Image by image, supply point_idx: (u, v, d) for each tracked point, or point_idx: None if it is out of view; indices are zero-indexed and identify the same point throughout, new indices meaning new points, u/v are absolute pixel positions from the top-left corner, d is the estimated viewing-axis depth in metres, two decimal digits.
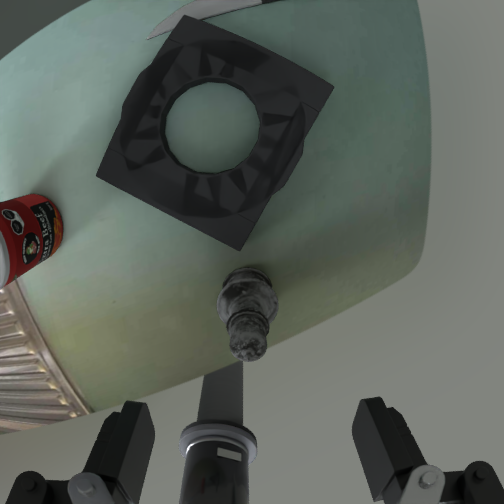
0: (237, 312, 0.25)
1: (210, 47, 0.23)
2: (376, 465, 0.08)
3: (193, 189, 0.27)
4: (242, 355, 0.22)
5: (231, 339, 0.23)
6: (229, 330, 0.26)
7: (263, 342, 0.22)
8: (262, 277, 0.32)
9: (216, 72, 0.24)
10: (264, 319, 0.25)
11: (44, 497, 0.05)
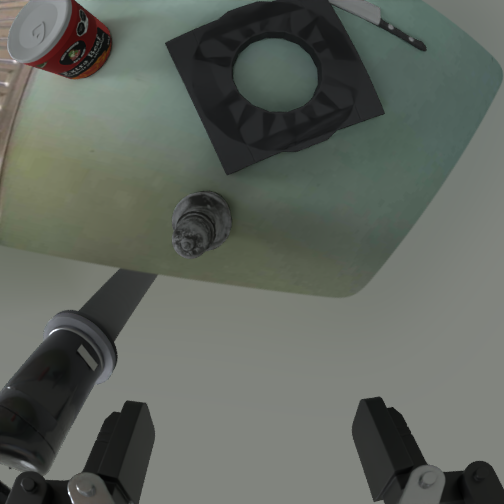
0: (196, 212, 0.26)
1: (321, 23, 0.25)
2: (376, 464, 0.08)
3: (229, 104, 0.28)
4: (180, 243, 0.23)
5: (180, 224, 0.23)
6: (178, 223, 0.26)
7: (204, 244, 0.23)
8: None
9: (311, 41, 0.26)
10: (213, 233, 0.26)
11: (44, 497, 0.05)
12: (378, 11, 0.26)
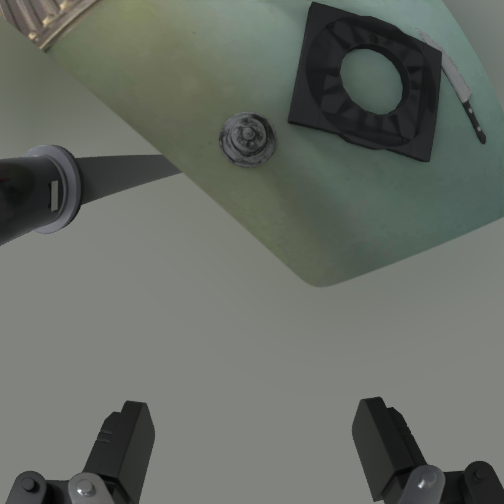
0: (261, 123, 0.26)
1: (426, 71, 0.29)
2: (376, 465, 0.08)
3: (327, 74, 0.29)
4: (243, 129, 0.23)
5: (250, 118, 0.23)
6: None
7: (259, 144, 0.24)
8: None
9: (412, 77, 0.29)
10: (262, 148, 0.27)
11: (44, 497, 0.05)
12: (469, 94, 0.31)
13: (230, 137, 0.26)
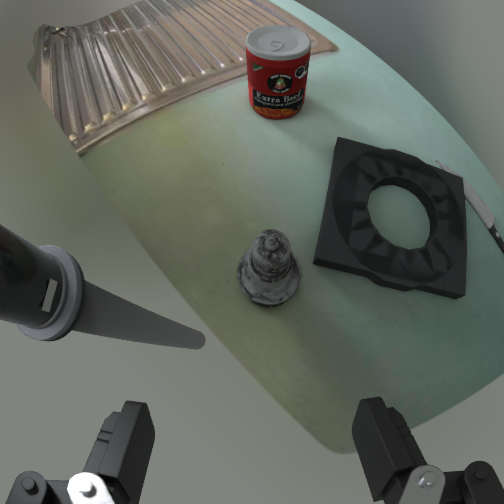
0: None
1: (451, 200, 0.32)
2: (376, 464, 0.08)
3: (355, 209, 0.32)
4: (266, 239, 0.21)
5: None
6: None
7: (283, 259, 0.21)
8: None
9: (438, 207, 0.32)
10: (285, 273, 0.24)
11: (44, 497, 0.05)
12: (493, 219, 0.33)
13: (250, 259, 0.25)
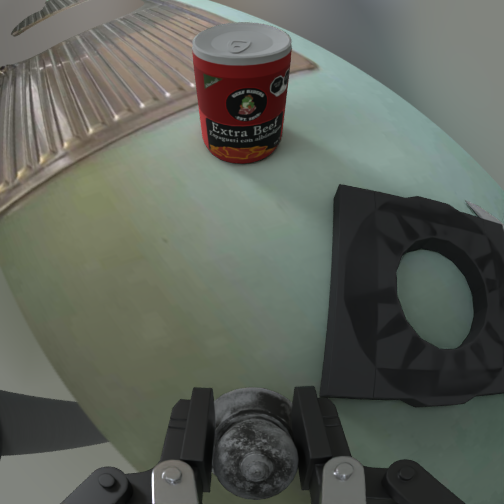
0: (280, 420, 0.11)
1: (496, 259, 0.21)
2: (302, 452, 0.09)
3: (380, 301, 0.19)
4: (243, 457, 0.08)
5: (260, 422, 0.09)
6: (236, 418, 0.11)
7: (285, 486, 0.08)
8: None
9: (485, 275, 0.20)
10: None
11: (126, 492, 0.06)
12: None
13: None
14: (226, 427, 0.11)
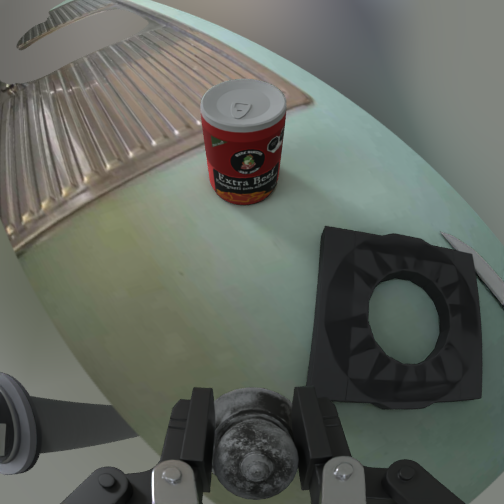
0: (280, 420, 0.11)
1: (462, 286, 0.27)
2: (302, 452, 0.09)
3: (353, 325, 0.25)
4: (243, 457, 0.08)
5: (260, 422, 0.09)
6: (236, 418, 0.11)
7: (285, 486, 0.08)
8: None
9: (449, 301, 0.26)
10: None
11: (126, 492, 0.06)
12: None
13: None
14: (226, 427, 0.11)
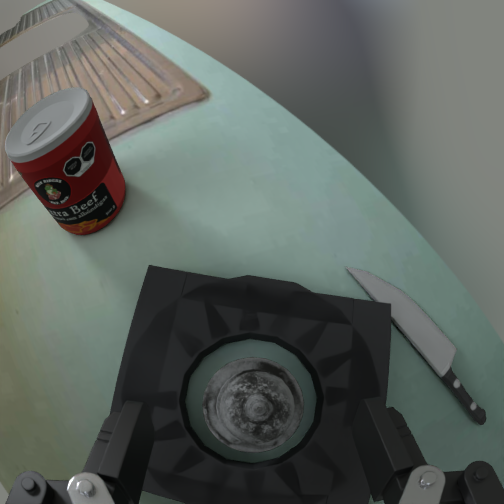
0: None
1: (359, 359, 0.19)
2: (376, 464, 0.08)
3: (157, 404, 0.17)
4: (247, 399, 0.10)
5: (261, 372, 0.11)
6: None
7: (283, 429, 0.10)
8: None
9: (328, 382, 0.18)
10: None
11: (44, 497, 0.05)
12: (452, 354, 0.20)
13: (220, 407, 0.13)
14: None
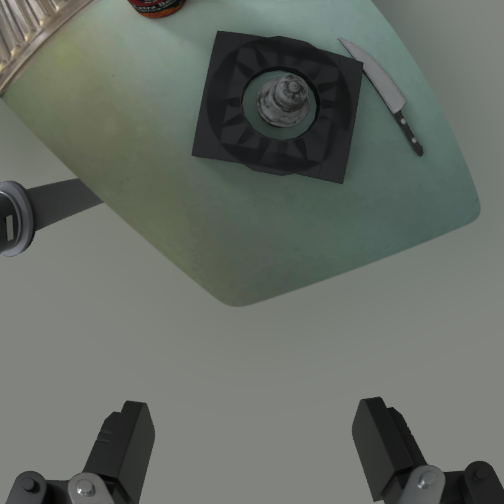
0: None
1: (341, 87, 0.32)
2: (376, 465, 0.08)
3: (228, 105, 0.32)
4: (289, 83, 0.24)
5: (294, 75, 0.24)
6: None
7: (303, 97, 0.25)
8: None
9: (323, 96, 0.32)
10: (301, 105, 0.28)
11: (44, 497, 0.05)
12: (402, 103, 0.33)
13: (272, 94, 0.27)
14: (277, 84, 0.27)
